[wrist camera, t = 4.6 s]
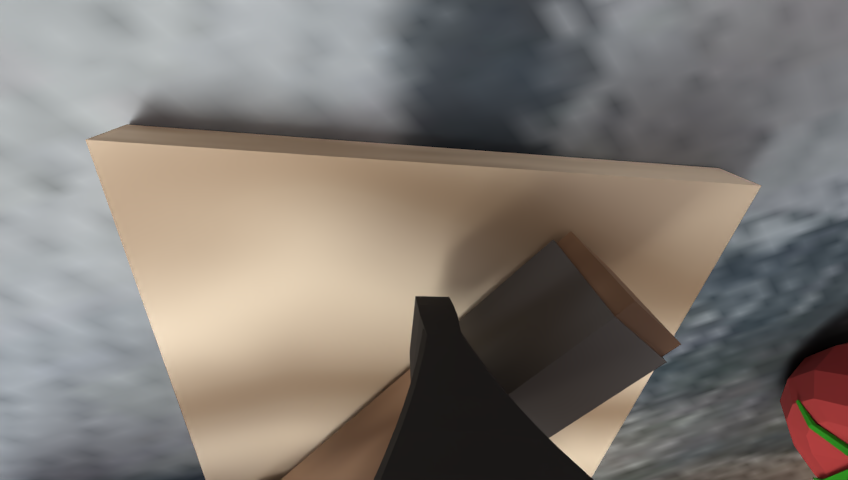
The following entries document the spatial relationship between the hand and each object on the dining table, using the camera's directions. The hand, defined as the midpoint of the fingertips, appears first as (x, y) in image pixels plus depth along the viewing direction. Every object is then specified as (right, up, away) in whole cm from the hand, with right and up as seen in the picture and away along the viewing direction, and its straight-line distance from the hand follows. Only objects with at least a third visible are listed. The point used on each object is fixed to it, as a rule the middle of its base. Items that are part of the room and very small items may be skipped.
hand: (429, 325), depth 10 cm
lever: (-1, -4, +3) cm, 5 cm away
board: (0, -3, +5) cm, 6 cm away
